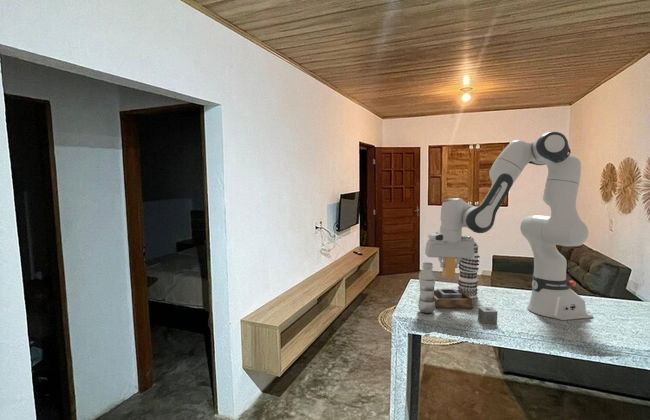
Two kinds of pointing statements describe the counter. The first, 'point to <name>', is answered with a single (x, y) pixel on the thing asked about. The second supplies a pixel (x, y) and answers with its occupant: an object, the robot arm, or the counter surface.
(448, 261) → the block
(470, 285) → the decorative candle
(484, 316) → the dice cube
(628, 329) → the counter surface
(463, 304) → the walled box
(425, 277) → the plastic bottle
